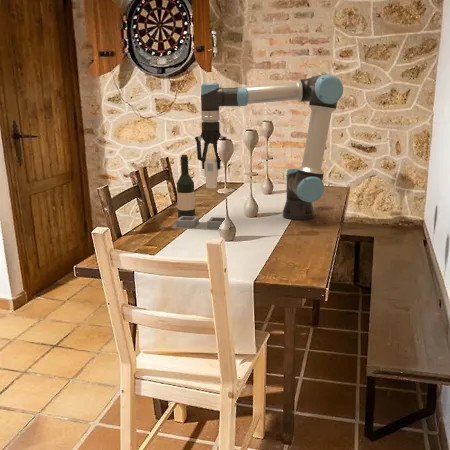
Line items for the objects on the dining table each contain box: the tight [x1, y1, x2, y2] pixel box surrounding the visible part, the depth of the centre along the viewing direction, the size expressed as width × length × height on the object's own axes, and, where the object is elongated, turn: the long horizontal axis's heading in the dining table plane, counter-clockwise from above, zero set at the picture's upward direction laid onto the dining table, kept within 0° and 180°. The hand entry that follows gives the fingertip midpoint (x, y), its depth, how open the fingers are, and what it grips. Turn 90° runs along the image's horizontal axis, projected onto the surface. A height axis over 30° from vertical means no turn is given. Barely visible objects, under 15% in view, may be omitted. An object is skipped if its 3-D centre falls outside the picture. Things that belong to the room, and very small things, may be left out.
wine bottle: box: [176, 154, 196, 219], centre depth 236 cm, size 8×8×30 cm
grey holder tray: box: [170, 215, 226, 231], centre depth 219 cm, size 26×12×4 cm, turn 77°
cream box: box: [205, 158, 218, 189], centre depth 212 cm, size 4×5×12 cm
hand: (211, 176), depth 213 cm, fingers closed on cream box, 4 cm apart
